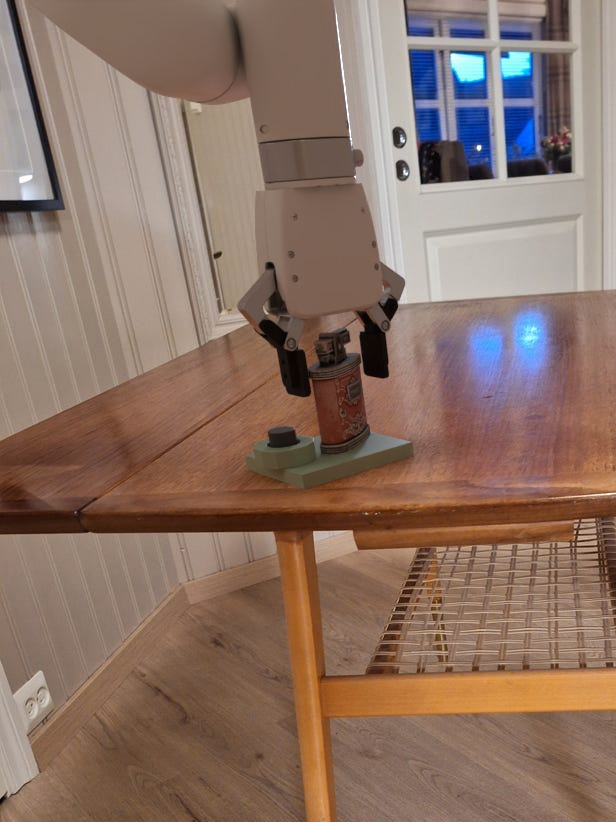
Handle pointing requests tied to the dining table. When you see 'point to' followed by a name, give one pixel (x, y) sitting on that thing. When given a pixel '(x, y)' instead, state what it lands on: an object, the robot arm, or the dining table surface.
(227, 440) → the dining table surface
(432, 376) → the dining table surface
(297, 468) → the scale
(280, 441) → the button
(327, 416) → the lighter
